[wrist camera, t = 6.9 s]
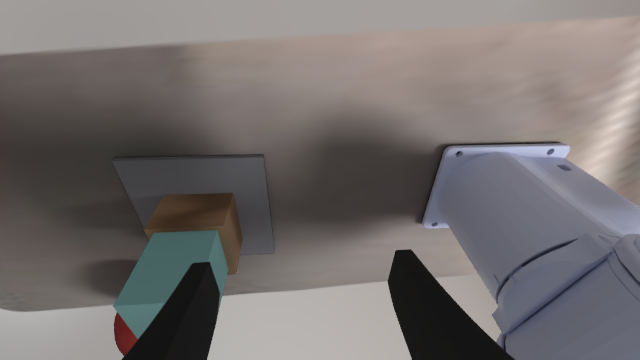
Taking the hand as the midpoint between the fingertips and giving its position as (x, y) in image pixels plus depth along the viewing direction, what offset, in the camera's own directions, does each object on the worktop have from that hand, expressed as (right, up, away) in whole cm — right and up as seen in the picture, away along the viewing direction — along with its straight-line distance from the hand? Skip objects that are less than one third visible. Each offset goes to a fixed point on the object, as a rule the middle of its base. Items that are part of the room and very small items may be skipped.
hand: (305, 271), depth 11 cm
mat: (-8, +1, +11) cm, 14 cm away
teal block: (-8, -1, +8) cm, 12 cm away
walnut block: (-8, +1, +11) cm, 14 cm away
